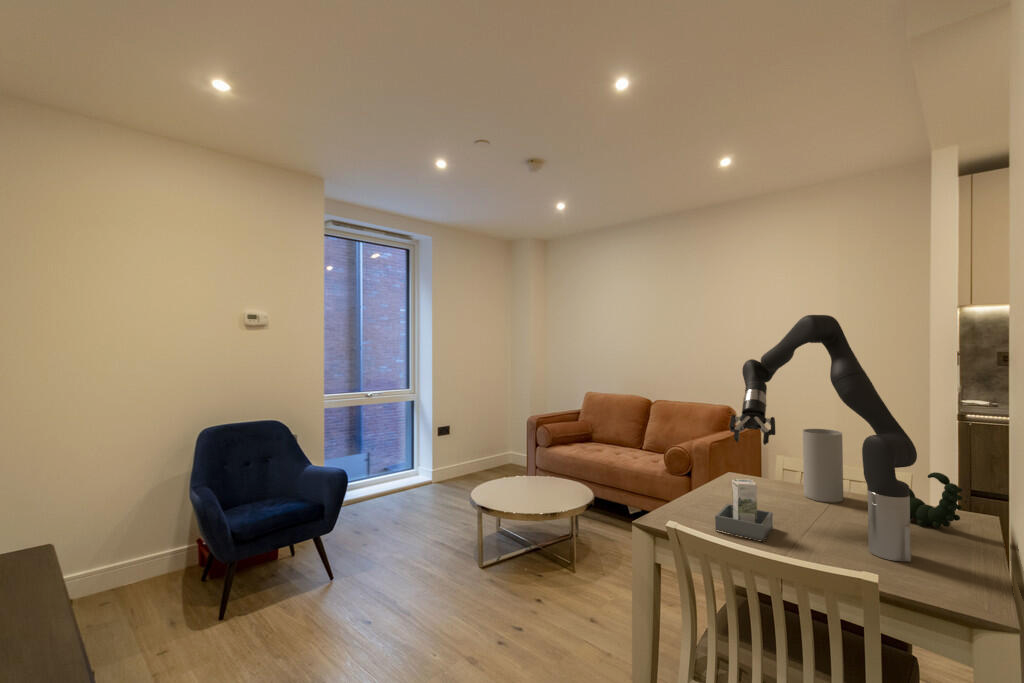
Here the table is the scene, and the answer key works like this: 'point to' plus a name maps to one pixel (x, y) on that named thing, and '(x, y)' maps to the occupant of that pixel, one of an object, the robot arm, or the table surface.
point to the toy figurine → (943, 510)
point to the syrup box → (744, 500)
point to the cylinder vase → (823, 465)
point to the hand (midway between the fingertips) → (750, 442)
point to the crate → (744, 524)
